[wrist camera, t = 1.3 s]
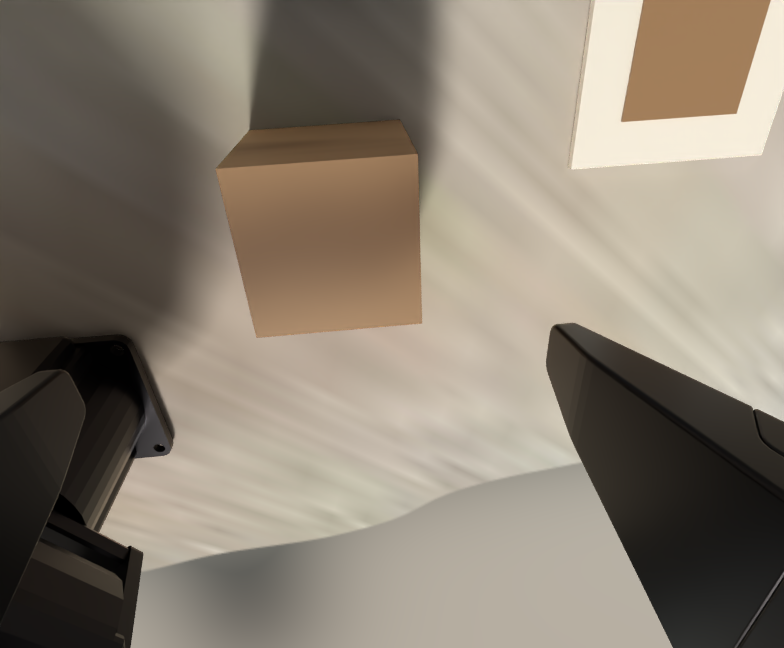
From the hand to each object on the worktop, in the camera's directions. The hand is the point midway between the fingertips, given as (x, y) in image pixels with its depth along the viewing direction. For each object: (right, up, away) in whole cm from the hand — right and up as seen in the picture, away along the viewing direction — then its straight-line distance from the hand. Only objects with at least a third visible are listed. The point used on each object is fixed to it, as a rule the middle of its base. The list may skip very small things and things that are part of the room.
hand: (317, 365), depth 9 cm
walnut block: (-1, +5, +8) cm, 10 cm away
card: (+11, +10, +7) cm, 16 cm away
